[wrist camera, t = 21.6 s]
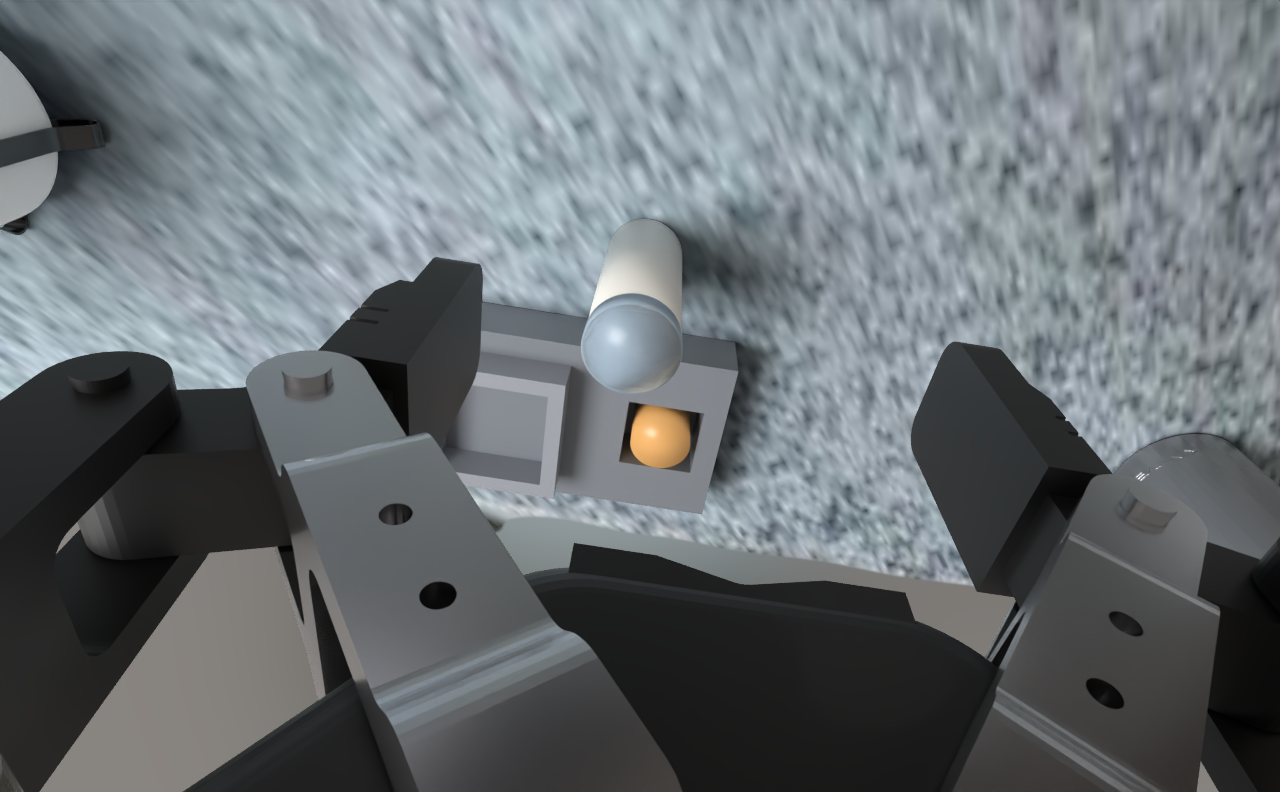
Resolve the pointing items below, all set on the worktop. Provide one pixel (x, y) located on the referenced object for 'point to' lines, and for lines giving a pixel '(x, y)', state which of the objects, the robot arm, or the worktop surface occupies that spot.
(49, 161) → the coffee press
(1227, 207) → the worktop surface
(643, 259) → the cartridge
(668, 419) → the button
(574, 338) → the housing
